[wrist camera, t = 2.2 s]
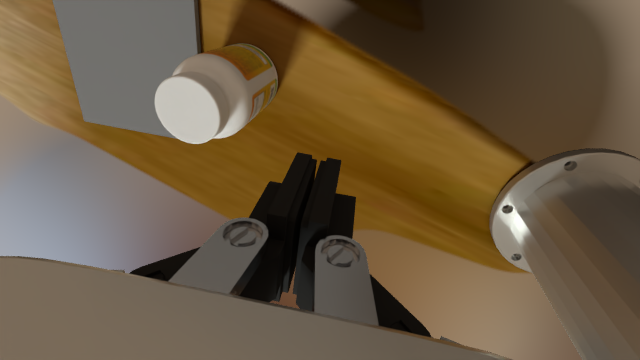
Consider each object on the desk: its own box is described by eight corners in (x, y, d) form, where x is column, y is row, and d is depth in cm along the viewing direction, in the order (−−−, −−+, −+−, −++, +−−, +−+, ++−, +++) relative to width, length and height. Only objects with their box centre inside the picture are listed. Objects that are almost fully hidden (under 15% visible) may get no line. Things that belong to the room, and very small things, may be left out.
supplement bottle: (207, 50, 26) (124, 73, 17) (267, 35, 24) (209, 51, 16) (230, 114, 28) (167, 161, 20) (286, 103, 27) (244, 148, 18)
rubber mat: (196, -21, 23) (192, -22, 23) (206, 141, 30) (203, 143, 29) (48, -43, 24) (41, -44, 24) (89, 119, 31) (84, 121, 30)
